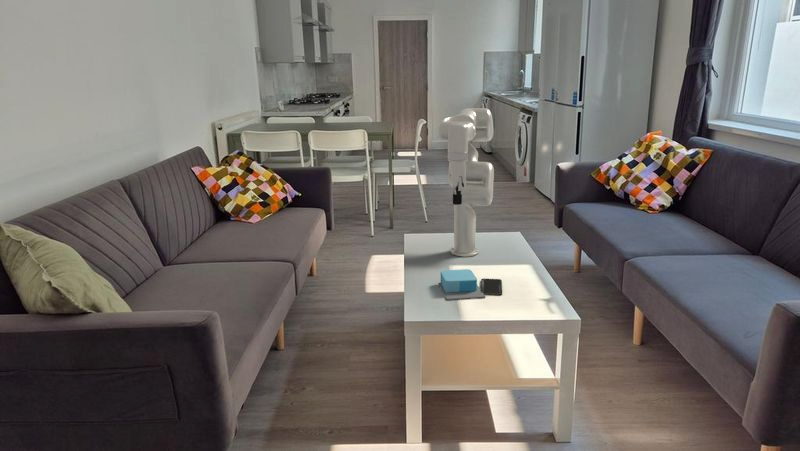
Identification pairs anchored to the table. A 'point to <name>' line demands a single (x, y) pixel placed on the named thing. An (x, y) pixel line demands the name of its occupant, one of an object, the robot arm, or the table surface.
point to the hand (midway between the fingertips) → (457, 204)
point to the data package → (458, 280)
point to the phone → (491, 287)
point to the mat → (462, 294)
